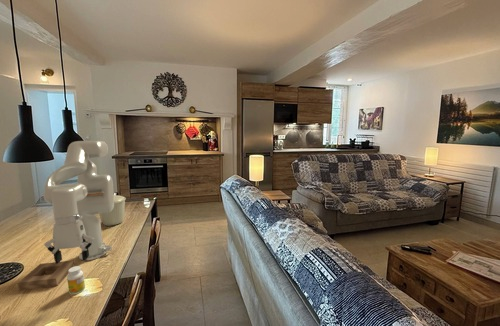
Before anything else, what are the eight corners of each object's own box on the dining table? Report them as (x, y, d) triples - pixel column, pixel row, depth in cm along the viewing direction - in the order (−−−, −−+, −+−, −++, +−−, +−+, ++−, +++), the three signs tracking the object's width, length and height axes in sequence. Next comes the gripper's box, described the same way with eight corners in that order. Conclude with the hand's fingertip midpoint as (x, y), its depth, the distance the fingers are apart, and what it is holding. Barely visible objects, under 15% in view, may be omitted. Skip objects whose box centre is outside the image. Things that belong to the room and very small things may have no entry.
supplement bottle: (66, 293, 99) (62, 271, 98) (79, 285, 104) (76, 263, 103) (75, 296, 97) (71, 273, 96) (88, 287, 102) (85, 266, 101)
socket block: (74, 267, 117) (73, 260, 117) (57, 285, 104) (56, 278, 103) (41, 270, 115) (40, 263, 114) (19, 290, 101) (17, 282, 101)
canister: (96, 230, 158) (92, 199, 155) (100, 220, 175) (96, 192, 171) (127, 225, 166) (124, 195, 162) (128, 216, 182) (125, 188, 179)
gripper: (95, 214, 101) (99, 253, 103) (48, 218, 98) (53, 258, 100) (86, 220, 93) (91, 262, 96) (35, 225, 90) (41, 268, 93)
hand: (72, 260), depth 98 cm, fingers open, 9 cm apart
